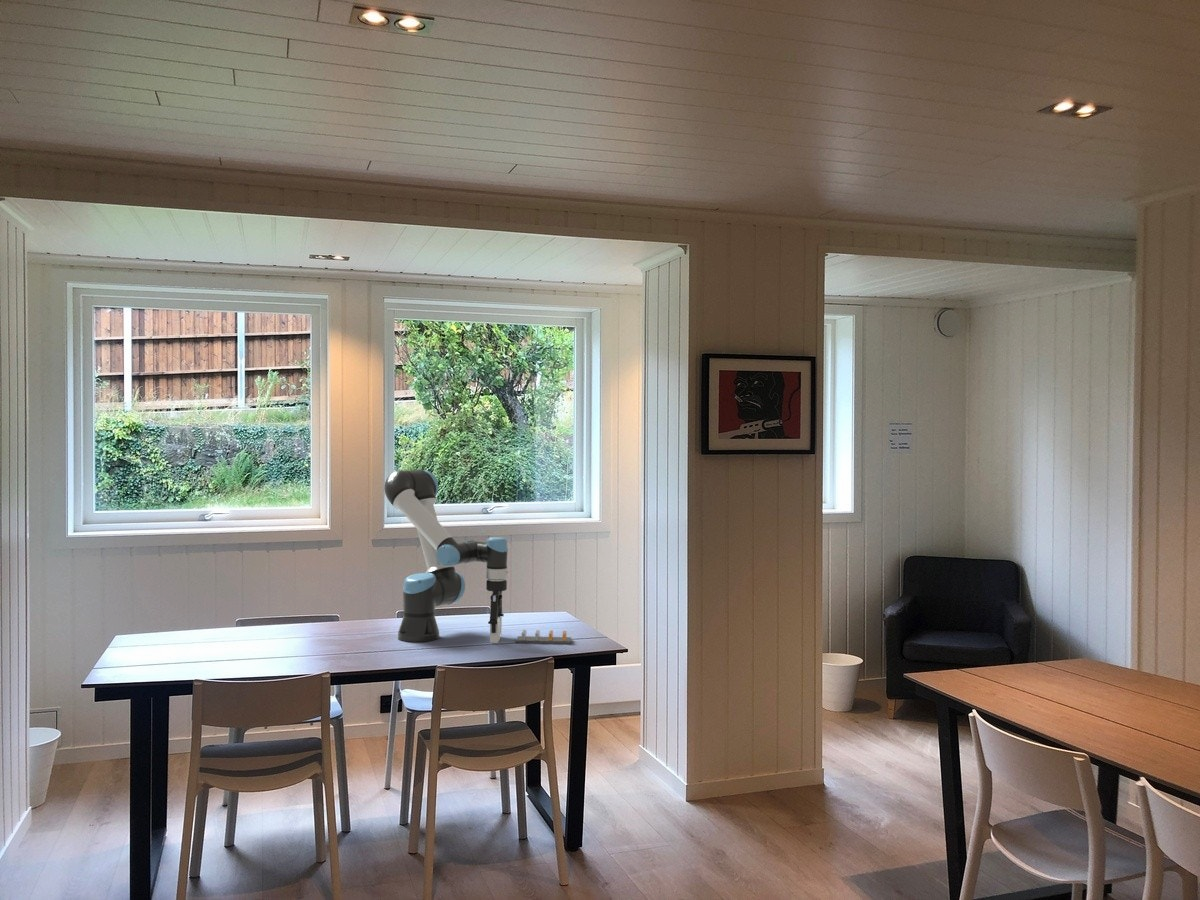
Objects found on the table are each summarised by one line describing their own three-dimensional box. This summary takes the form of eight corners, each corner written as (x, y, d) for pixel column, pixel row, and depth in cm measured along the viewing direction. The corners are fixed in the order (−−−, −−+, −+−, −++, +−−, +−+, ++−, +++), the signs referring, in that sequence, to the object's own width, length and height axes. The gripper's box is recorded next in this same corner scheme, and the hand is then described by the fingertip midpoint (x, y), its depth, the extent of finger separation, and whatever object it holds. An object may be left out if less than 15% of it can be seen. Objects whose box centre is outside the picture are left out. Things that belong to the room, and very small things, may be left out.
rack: (516, 643, 345) (516, 633, 345) (518, 638, 352) (518, 629, 352) (570, 644, 344) (571, 634, 344) (571, 640, 351) (571, 630, 351)
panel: (490, 643, 344) (491, 622, 344) (493, 638, 352) (493, 618, 352) (497, 643, 344) (498, 622, 344) (500, 638, 352) (500, 618, 352)
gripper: (503, 584, 336) (502, 645, 336) (510, 575, 360) (509, 631, 360) (482, 584, 336) (481, 644, 336) (490, 574, 360) (489, 630, 360)
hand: (495, 637), depth 348 cm, fingers open, 12 cm apart
